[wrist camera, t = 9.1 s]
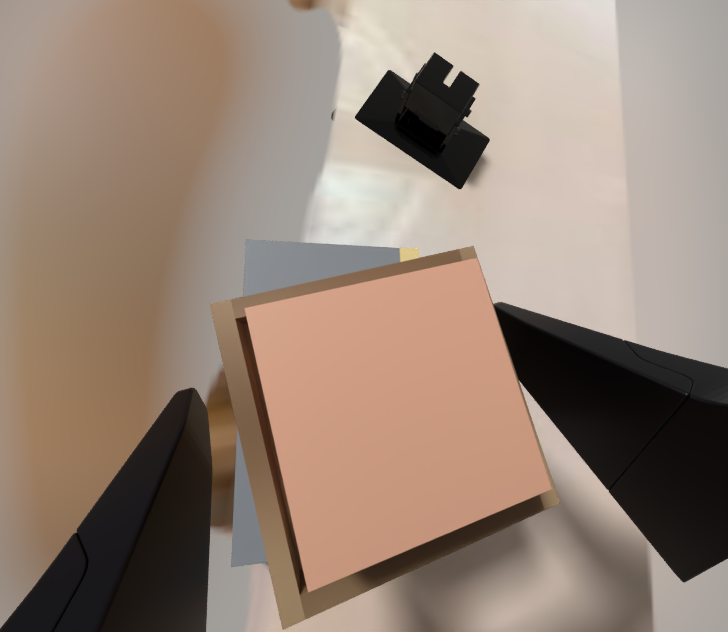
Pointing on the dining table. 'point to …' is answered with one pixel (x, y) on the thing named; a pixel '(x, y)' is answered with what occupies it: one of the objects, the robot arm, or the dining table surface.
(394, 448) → the block
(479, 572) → the dining table surface
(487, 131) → the dining table surface
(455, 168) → the black slotted stand
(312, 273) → the dock
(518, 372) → the robot arm
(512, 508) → the open wooden bin
